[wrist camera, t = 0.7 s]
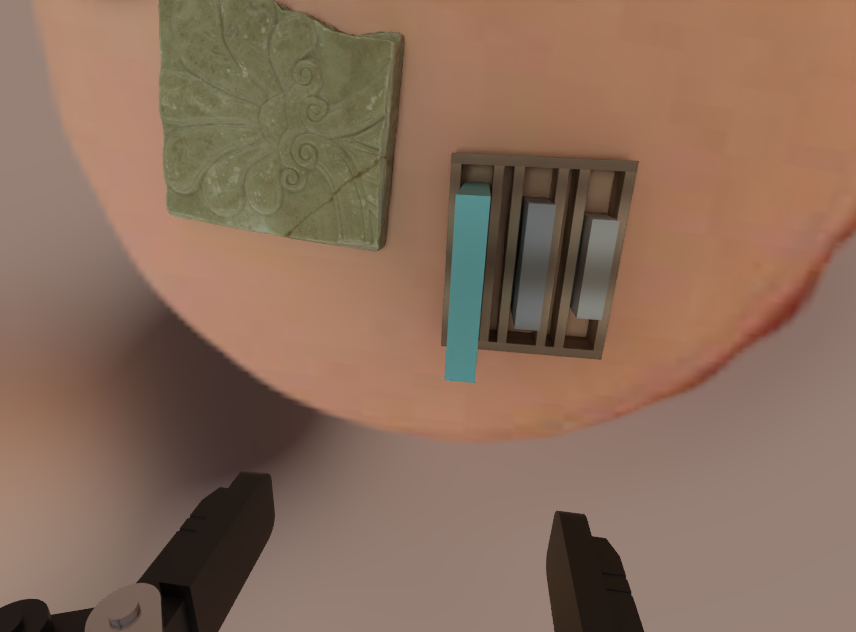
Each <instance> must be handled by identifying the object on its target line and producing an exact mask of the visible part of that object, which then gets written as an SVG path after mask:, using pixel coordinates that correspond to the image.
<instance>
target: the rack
mask: <svg viewBox="0 0 856 632" xmlns="http://www.w3.org/2000/svg"><path fill="white" fill-rule="evenodd" d="M638 162H639V161H627V160H605V159H582V158H560V157H537V156H514V155H492V154H469V153H452V162H451V179H450V197H449V215H448V232H447V250H446V268H445V286H444V303H443V321H442V339H441V346H447V331H448V315H449V299H450V282H451V266H452V249H453V233H454V217H455V200H456V194H457V192H458V191H459V190H460V188H461V187H462V173H463V164H474V165H494V167H493V179H492V191H491V202H490V214H489V225H488V237H487V248H486V260H485V272H484V283H483V295H482V306H481V318H480V329H479V338H478V349H483V350H494V351H506V352H518V353H529V354H541V355H553V356H564V357H576V358H588V359H599V360H601V358H602V353H603V347H604V342H605V337H606V332H607V326H608V321H609V316H610V310H611V305H612V300H613V294H614V289H615V284H616V279H617V273H618V268H619V263H620V257H621V252H622V247H623V241H624V236H625V231H626V226H627V220H628V215H629V210H630V204H631V199H632V194H633V188H634V183H635V178H636V173H637V167H638ZM505 166H513V168H512V178H511V188H510V198H509V208H508V218H507V228H506V238H505V248H504V258H503V268H502V278H501V288H500V298H499V308H498V318H497V328H496V330H489V327H490V316H491V306H492V295H493V284H494V274H495V263H496V253H497V242H498V231H499V221H500V210H501V200H502V189H503V178H504V168H505ZM525 167H539V168H554V169H553V177H552V185H551V192H550V201H551V202H553V203H554V204H556V211H555V219H554V226H553V234H552V241H551V248H550V256H549V263H548V271H547V278H546V286H545V293H544V300H543V308H542V315H541V323H540V330H539V331H534V330H533V332H532V333H522V332H509V331H507V330H508V321H509V312H510V303H511V293H512V284H513V275H514V266H515V257H516V248H517V238H518V229H519V220H520V211H521V202H522V193H523V183H524V174H525ZM570 169H573V173H572V180H571V187H570V194H569V201H568V208H567V215H566V222H565V229H564V236H563V243H562V250H561V257H560V264H559V271H558V278H557V285H556V292H555V299H554V306H553V313H552V320H551V327H550V334H549V335H546V334H547V327H548V320H549V313H550V306H551V298H552V291H553V284H554V277H555V270H556V263H557V256H558V249H559V242H560V235H561V227H562V220H563V213H564V206H565V199H566V192H567V185H568V178H569V171H570ZM591 170H603V171H615V174H614V180H613V186H612V192H611V198H610V203H609V209H608V215H609V216H611V217H613V218H615V219H617V220H619V221H620V223H619V229H618V234H617V240H616V245H615V251H614V256H613V261H612V267H611V272H610V278H609V283H608V289H607V294H606V300H605V305H604V311H603V316H602V320H593V319H589V325H588V330H587V336H586V338H583V337H571V336H565V333H566V327H567V320H568V314H569V307H570V301H571V295H572V288H573V282H574V275H575V269H576V262H577V256H578V250H579V243H580V237H581V230H582V224H583V218H584V211H585V205H586V198H587V192H588V185H589V179H590V173H591Z"/></svg>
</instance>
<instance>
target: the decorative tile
mask: <svg viewBox="0 0 856 632" xmlns="http://www.w3.org/2000/svg"><path fill="white" fill-rule="evenodd" d="M159 37H160V51H161V69H160V73H159V90H160V91H159V112H160V117H161V120H162V123H163V133H164V149H163V171H164V177H165V182H166V185H167V195H166V201H167V211H168V212H169V214H170V215H173V216H176V217H181V218H186V219H191V220H196V221H202V222H207V223H212V224H217V225H222V226H227V227H232V228H237V229H243V230H249V231H255V232H260V233H266V234H273V235H278V236H283V237H288V238H291V239H298V240H305V241H311V242H317V243H324V244H330V245H337V246H344V247H350V248H357V249H364V250H371V251H379V250H380V249H381V248H382V247H383V246H384V245H385V242H386V235H387V225H388V211H389V203H390V195H391V184H392V171H393V167H392V165H393V157H394V148H395V140H396V132H397V123H398V109H399V96H400V85H401V76H402V65H403V52H404V40H403V36H402V35H401V34H400V33H395V32H387V33H385V32H376V33H368V34H363V35H361V36H355V35H353V34H351V35H349V34H346V33H344V32H340V31H338V30H336V29H335V28H334V27H333V26H332V25H326V24H325V23H322V22H320V21H319V20H317V19H316V18H315V17H313V16H311V15H308V14H305V13H302V12H293V11H291V10H290V9H289V8H288V7H286V6H284V5H278V4H277V2H276V1H274V0H159Z"/></svg>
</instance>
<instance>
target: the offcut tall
mask: <svg viewBox="0 0 856 632" xmlns="http://www.w3.org/2000/svg"><path fill="white" fill-rule="evenodd" d="M555 211H556V204H554V203H553V202H551V201H550V200H548V199H547V198H537V197H522V206H521V215H520V225H519V234H518V243H517V252H516V261H515V270H514V279H513V289H512V298H511V312H512V318H513V323H514V329H522V330H534V331H539V330H540V323H541V315H542V308H543V300H544V293H545V286H546V278H547V271H548V263H549V256H550V248H551V241H552V234H553V226H554V219H555Z"/></svg>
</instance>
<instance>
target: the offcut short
mask: <svg viewBox="0 0 856 632" xmlns="http://www.w3.org/2000/svg"><path fill="white" fill-rule="evenodd" d="M619 223H620V221H619V220H617V219H615V218H613V217H611V216H609V215H607V214H605V213H593V212H584V218H583V224H582V230H581V237H580V243H579V250H578V256H577V262H576V269H575V275H574V282H573V288H572V295H571V301H570V307H571V309H572V311H573V313H574V314H575V316H576V318H580V319H593V320H602V316H603V311H604V305H605V300H606V294H607V289H608V283H609V278H610V272H611V267H612V261H613V256H614V251H615V245H616V240H617V234H618V229H619Z"/></svg>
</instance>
